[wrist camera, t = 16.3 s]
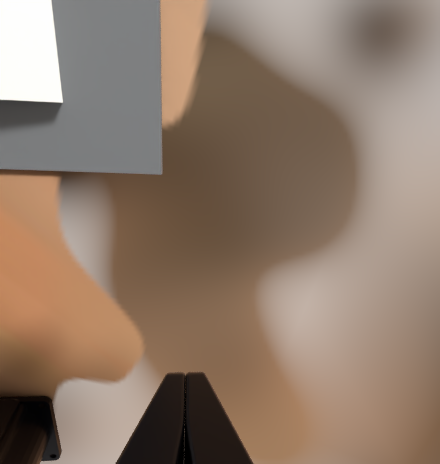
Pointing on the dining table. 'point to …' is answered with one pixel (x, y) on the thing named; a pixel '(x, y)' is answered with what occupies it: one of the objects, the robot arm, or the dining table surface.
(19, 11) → the domino
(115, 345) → the dining table surface
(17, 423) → the robot arm
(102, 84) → the mat
